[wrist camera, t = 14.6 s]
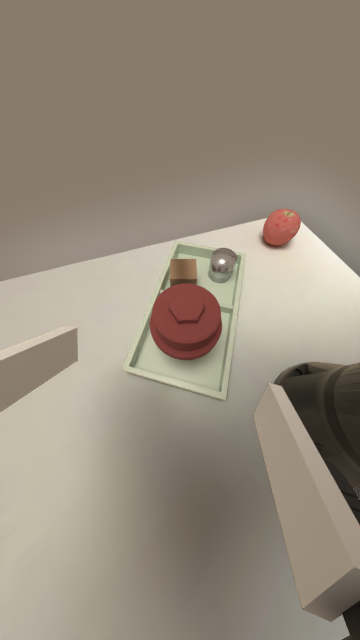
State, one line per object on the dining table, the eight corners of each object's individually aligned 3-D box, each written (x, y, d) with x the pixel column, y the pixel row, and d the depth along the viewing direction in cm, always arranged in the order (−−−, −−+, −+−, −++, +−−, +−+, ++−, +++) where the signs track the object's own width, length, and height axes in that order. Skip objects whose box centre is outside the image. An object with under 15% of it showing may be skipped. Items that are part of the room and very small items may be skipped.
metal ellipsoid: (231, 268, 38) (238, 250, 33) (228, 285, 36) (235, 268, 31) (210, 264, 39) (213, 246, 34) (205, 280, 36) (209, 263, 32)
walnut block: (194, 276, 37) (196, 258, 32) (195, 294, 35) (197, 278, 30) (171, 276, 37) (170, 258, 33) (171, 294, 35) (169, 278, 30)
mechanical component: (147, 333, 31) (192, 308, 33) (175, 381, 27) (223, 349, 29) (128, 294, 20) (197, 261, 22) (171, 366, 16) (249, 317, 18)
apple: (285, 233, 44) (306, 201, 37) (288, 253, 41) (311, 221, 34) (257, 230, 45) (271, 197, 38) (257, 249, 42) (274, 217, 34)
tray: (240, 264, 39) (245, 253, 37) (221, 400, 26) (226, 400, 24) (175, 251, 41) (175, 240, 38) (127, 373, 28) (121, 369, 26)
